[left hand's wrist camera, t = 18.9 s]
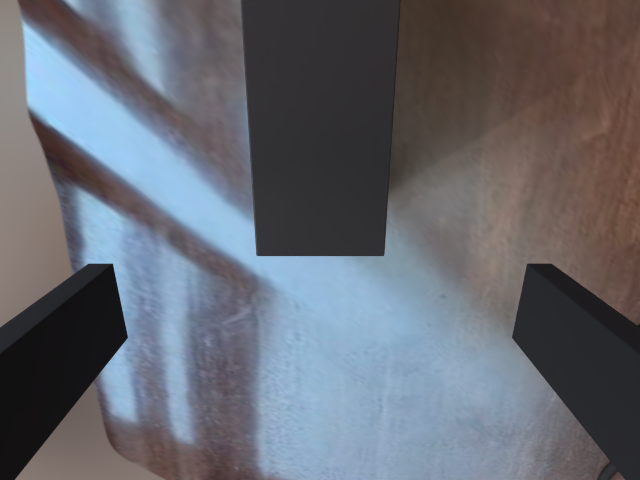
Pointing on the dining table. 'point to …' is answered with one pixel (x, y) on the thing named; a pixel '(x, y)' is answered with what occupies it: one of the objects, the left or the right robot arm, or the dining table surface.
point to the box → (320, 123)
